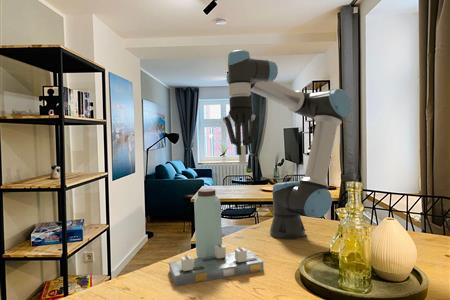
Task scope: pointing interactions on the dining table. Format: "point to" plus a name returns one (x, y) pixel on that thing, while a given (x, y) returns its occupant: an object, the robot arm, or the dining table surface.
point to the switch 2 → (220, 251)
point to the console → (215, 268)
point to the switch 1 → (186, 263)
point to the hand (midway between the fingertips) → (242, 164)
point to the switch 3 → (240, 254)
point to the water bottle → (207, 222)
